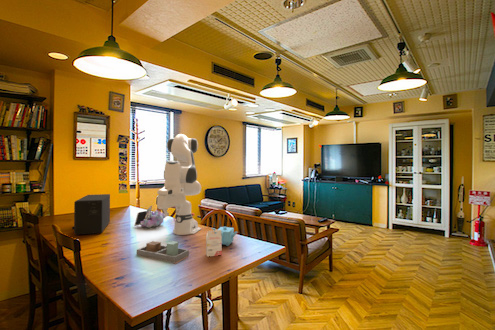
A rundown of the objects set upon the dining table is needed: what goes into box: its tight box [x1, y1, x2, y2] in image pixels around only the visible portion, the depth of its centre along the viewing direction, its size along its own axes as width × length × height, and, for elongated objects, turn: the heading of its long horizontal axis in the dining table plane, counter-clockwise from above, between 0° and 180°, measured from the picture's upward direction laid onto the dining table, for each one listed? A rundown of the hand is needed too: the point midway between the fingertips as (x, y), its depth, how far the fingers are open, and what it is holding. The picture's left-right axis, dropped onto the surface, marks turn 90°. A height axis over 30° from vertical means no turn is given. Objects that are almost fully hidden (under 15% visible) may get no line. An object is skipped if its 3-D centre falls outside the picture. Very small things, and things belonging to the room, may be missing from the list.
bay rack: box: [136, 244, 190, 265], centre depth 144 cm, size 12×27×4 cm, turn 67°
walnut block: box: [145, 240, 162, 253], centre depth 146 cm, size 5×6×6 cm
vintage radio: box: [71, 193, 111, 236], centre depth 198 cm, size 38×20×25 cm, turn 20°
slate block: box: [166, 240, 179, 256], centre depth 141 cm, size 4×4×8 cm
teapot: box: [211, 226, 238, 247], centre depth 167 cm, size 16×18×11 cm
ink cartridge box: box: [205, 229, 223, 257], centre depth 147 cm, size 9×5×15 cm, turn 105°
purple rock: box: [134, 205, 167, 229], centre depth 208 cm, size 20×22×18 cm
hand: (172, 214), depth 141 cm, fingers open, 8 cm apart
